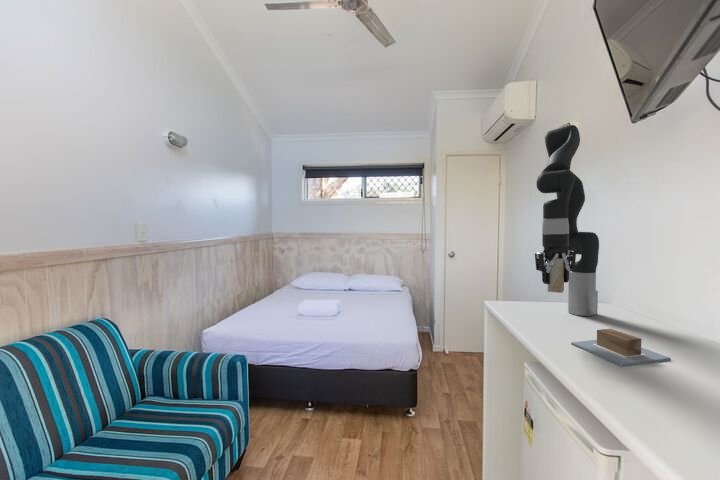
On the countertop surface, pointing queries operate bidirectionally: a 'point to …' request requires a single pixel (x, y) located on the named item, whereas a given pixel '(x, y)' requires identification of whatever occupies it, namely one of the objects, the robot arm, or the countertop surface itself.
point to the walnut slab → (619, 342)
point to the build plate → (618, 358)
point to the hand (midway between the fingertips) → (555, 282)
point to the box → (557, 276)
